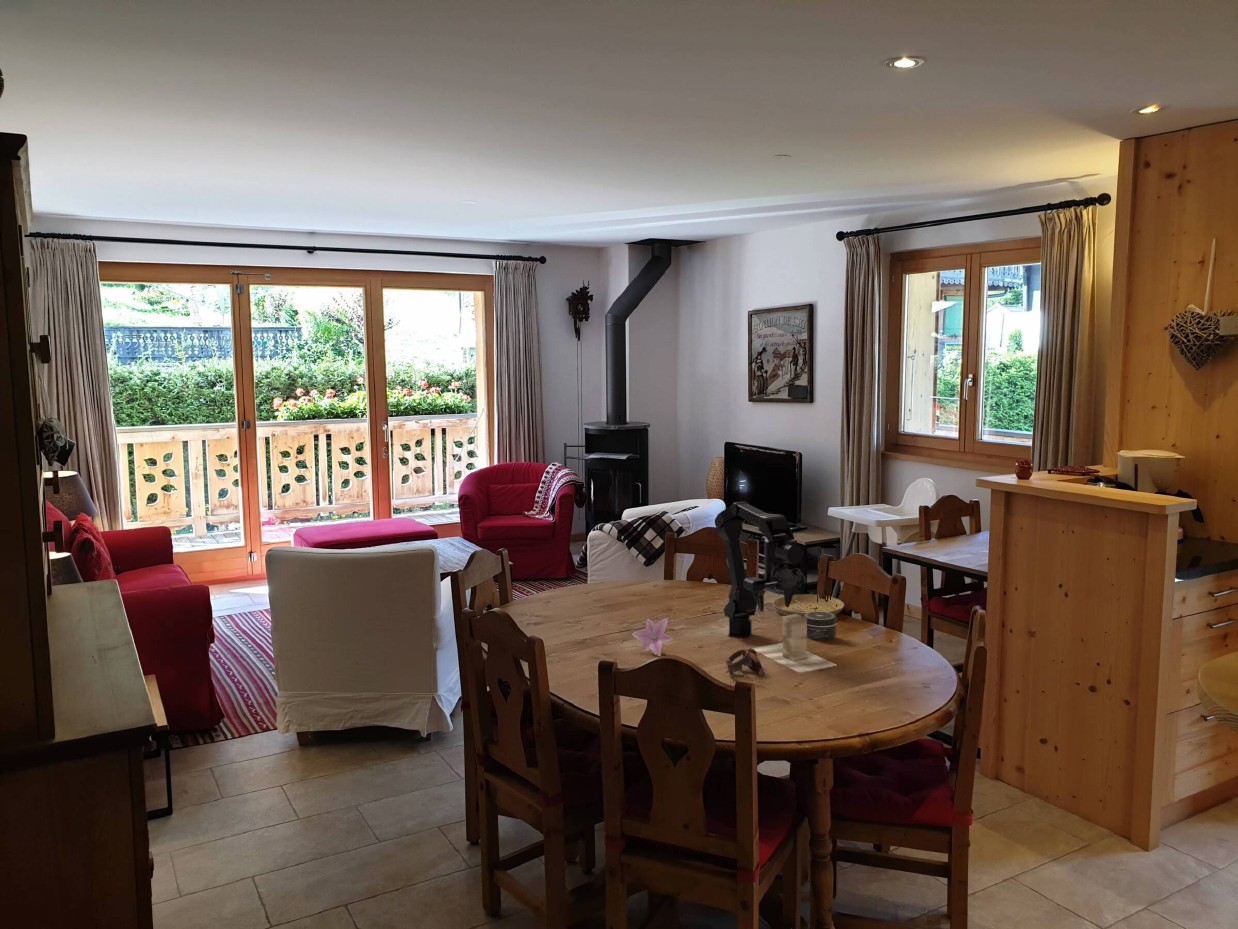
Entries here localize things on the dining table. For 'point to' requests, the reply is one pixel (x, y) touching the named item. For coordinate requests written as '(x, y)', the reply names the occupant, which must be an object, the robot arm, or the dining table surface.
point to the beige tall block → (794, 637)
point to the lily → (653, 636)
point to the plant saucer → (808, 600)
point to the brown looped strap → (744, 661)
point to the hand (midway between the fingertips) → (774, 609)
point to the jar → (821, 625)
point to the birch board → (799, 666)
